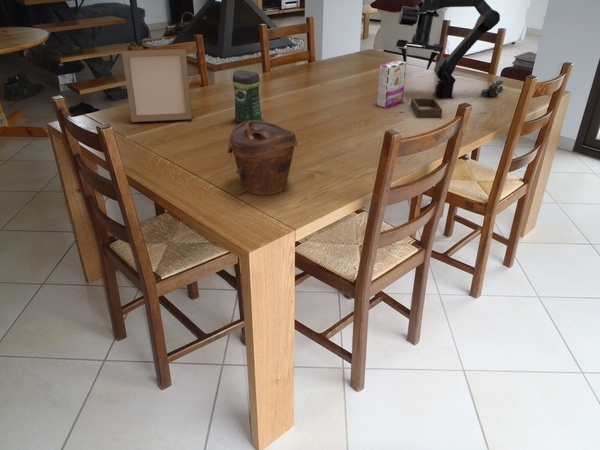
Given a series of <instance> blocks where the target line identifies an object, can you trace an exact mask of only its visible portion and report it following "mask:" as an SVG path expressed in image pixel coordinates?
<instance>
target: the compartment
mask: <svg viewBox="0 0 600 450" xmlns="http://www.w3.org/2000/svg"><path fill="white" fill-rule="evenodd" d="M410 107H411V109H412V111H413V113H414V115H415V116H416V118H419V119H421V118H423V119H424V118H426V119H441V118H442V113H443V109H442V107H441V106H440V104H439V103H438V102H437V100H436V99H435V98H434V97H430V98H429V97H412V98H411V100H410ZM420 107H431V108H420Z"/></svg>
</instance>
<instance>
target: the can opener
mask: <svg viewBox="0 0 600 450" xmlns="http://www.w3.org/2000/svg"><path fill="white" fill-rule="evenodd" d="M502 84H504V81H503V80H496V81H493V83H491V84H490V85H489V86H488V88H485V89H482V90H481V95H482V96H490V97H497V96H499V92H500V91H502V90H503V88H504V87H503V86H502Z"/></svg>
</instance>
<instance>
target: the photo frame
mask: <svg viewBox="0 0 600 450" xmlns="http://www.w3.org/2000/svg"><path fill="white" fill-rule="evenodd" d="M121 56H122V63H123V71H124V77H125V85H126V91H127V99H128V106H129V107H128V108H129V114H130V120H131V123H138V122H140V123H141V122H158V121H159V122H160V121H178V120H181V121H182V120H192V119H193V110H192V100H191V91H190V90H191V89H190V80H189V71H188V69H189V68H188V60H187V59H188V58H187V51H186V48H174V49H173V48H172V49H171V48H170V49H142V50H121Z"/></svg>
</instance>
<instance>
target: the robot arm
mask: <svg viewBox="0 0 600 450" xmlns="http://www.w3.org/2000/svg"><path fill="white" fill-rule="evenodd" d="M468 7H469V8H473V7H474V8H475V10H476V11H477V13H478V14H479V16H478V18H477V20H476V22H475V24H474V27H472V29H471V30H470V31H469V32H468V33H467V34H466V36H465V37H464V38H463V39H462V40H461V42H459V44H458V45H457V46H456V47H455V48H454V49H453V50H452V51H451V53H450V54H449V55H447V56H446V57H444V56H441V57H440V58H439V60H438V61H437V62H436V63H435V66H434V68H433V72H434V74H435V75H436V77H437V79H438V80H437V82H436V83H435V86H434V96H435V97H436V98H437V99H454V96H453V90H454V85H455V82H456V80H457V79H456V78H455V77H454V76H453V73H454V72H455V69H456V67H457V66H458V65H457V64H458V63H459V62H460V60H461V59H462V58H463V57H464V56H465V55H466V54H467V53H468V52H469V51H470V49H471V48H472V47H473V46H474V45H475V43H477V42H478V40H479V39H480V38H481V37H482V36H483V35H484V34H486V33H487V32H489V31H490V30H492V29H493V28H494V27H496V26H497V25H498V24H499V22H500V21H501V15H500V12H498V11H497V10H495V9H493V8H492V7H491V6H490V5H489V3H487V1H486V0H420V1H419V2H418V3H417V4H416V5H415V6H414V7H411V6H410V7H409V6H406V5H402V7H401V9H400V12H399V15H398V21H397V22H398V23H397V24H398V25H402V26H409V27H413V26H414V25H416V29H415V33H413V35H412V38H411V42H410V41H408V40H407V39H397V41H396V44H395V47H397V48H398V50H401V56H402V60H403V62H406V63H407V57H408V48H412V49H413V48H414V49H421V50H429V51H431V53H430V56H429V59H428V62H427V66H426V70H427V71H428V70H429V68H431V67H430V66H431V65H432V63H433V61H434V60H435V58H436V57H437V55H441V53H442V54H444V52H445V45H444V44H439V43H434V44H433V45H432V44H430V40H431V38H430V36H431V31H432V25H433V21H434V18H438V17H440V15H439V13H438V10H441V9H445V8H468Z"/></svg>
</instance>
